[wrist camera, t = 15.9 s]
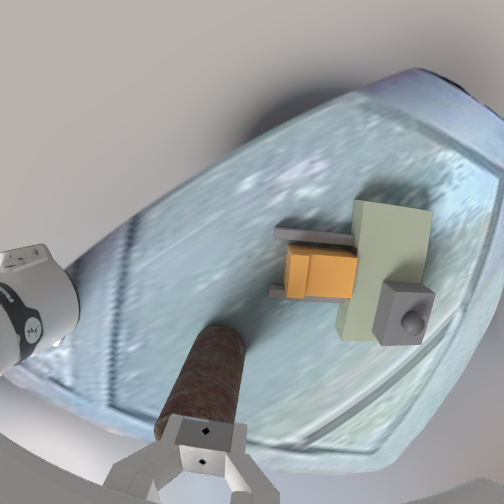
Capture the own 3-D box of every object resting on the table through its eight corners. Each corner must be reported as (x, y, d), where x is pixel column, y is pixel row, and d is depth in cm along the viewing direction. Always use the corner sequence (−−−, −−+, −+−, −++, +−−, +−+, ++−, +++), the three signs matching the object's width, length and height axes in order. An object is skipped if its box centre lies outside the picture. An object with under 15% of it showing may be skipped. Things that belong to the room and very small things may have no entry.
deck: (265, 323, 40) (265, 362, 30) (277, 191, 36) (282, 191, 27) (395, 328, 40) (424, 362, 30) (418, 209, 36) (459, 216, 26)
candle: (212, 311, 40) (170, 403, 21) (257, 337, 41) (247, 441, 21) (187, 349, 42) (141, 444, 22) (229, 373, 42) (207, 476, 23)
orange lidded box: (283, 281, 39) (286, 297, 33) (287, 244, 38) (291, 254, 32) (341, 285, 39) (353, 301, 33) (346, 249, 38) (360, 260, 32)
